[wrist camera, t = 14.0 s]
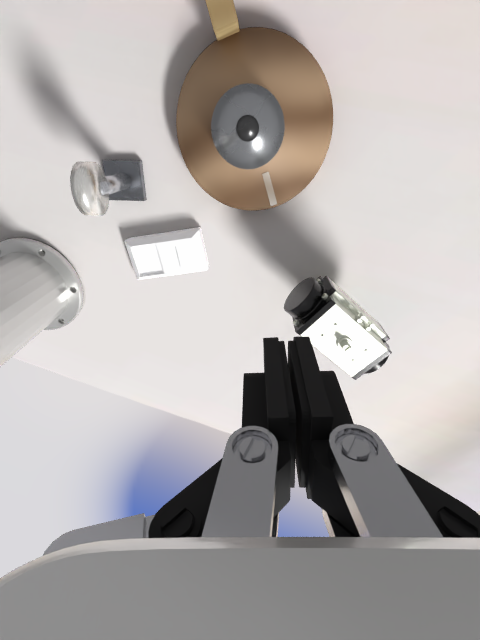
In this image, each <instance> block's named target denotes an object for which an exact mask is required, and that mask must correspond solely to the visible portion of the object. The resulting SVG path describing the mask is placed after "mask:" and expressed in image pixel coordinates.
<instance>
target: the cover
mask: <svg viewBox="0 0 480 640" xmlns="http://www.w3.org/2000/svg"><path fill="white" fill-rule="evenodd" d="M284 130H285V124H284V116H283V112H282V109H281V106H280V104H279V102H278V100H277V99H276V98H275V96H274V95H273V94H272V93H271V92H270V91H268V90H267V89H266V88H264V87H262V86H260V85H257V84H252V83H246V84H240V85H237V86H235V87H232V88H231V89H229V90H228V91H227V92H226V93H224V94H223V96H222V97H221V98H220V99H219V101H218V102H217V104H216V106H215V109H214V112H213V115H212V121H211V133H212V138H213V142H214V145H215V147H216V149H217V151H218V152H219V154H220V155H221V156H222V158H223V159H224V160H226V161H227V162H228V163H230V164H231V165H233V166H235V167H237V168H240V169H255V168H259V167H261V166H263V165H265V164H267V163H268V162H269V161H270V160H271V159H272V158H273V157H274V156H275V155H276V154H277V152H278V150H279V148H280V146H281V144H282V141H283V137H284Z"/></svg>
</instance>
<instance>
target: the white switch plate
mask: <svg viewBox="0 0 480 640" xmlns="http://www.w3.org/2000/svg"><path fill="white" fill-rule="evenodd" d="M124 242H125V245H126V248H127V251H128V254H129V257H130V260H131V263H132V266H133V269H134V272H135V275H136V278H137V280H141V279H148V278H156V277H163V276H171V275H178V274H185V273H193V272H200V271H207V270H208V269H209V263H208V258H207V253H206V249H205V244H204V239H203V234H202V230H201V227H197V228H190V229H183V230H177V231H170V232H164V233H157V234H151V235H144V236H137V237H131V238H128V239H126V240H125V241H124Z"/></svg>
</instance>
